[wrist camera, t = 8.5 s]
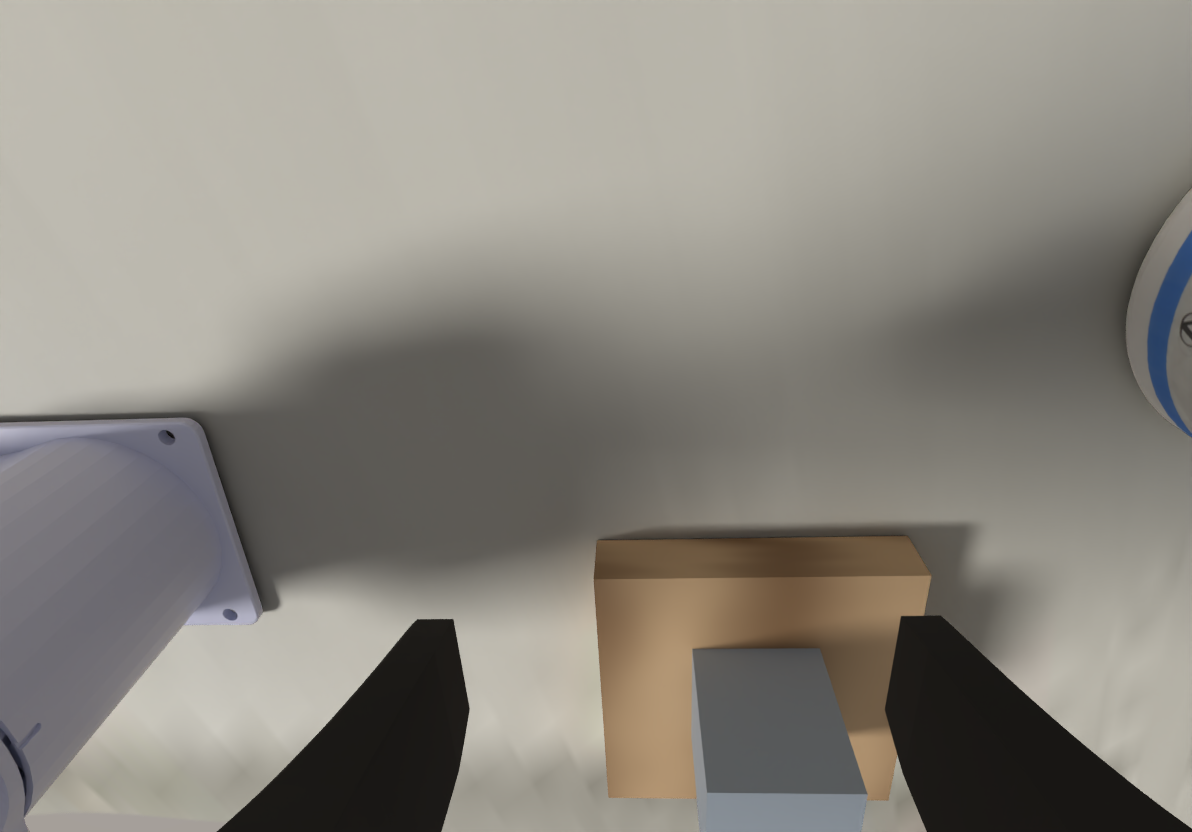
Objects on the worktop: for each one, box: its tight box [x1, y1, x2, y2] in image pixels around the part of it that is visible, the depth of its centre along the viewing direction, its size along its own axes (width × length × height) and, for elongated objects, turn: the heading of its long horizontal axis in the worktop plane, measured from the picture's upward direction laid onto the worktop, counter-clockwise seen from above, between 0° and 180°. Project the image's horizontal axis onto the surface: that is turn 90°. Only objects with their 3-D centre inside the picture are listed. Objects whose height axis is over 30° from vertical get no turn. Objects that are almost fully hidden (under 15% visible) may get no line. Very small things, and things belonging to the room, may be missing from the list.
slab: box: [594, 536, 931, 800], centre depth 24 cm, size 10×10×2 cm
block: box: [691, 648, 868, 832], centre depth 21 cm, size 4×4×5 cm
